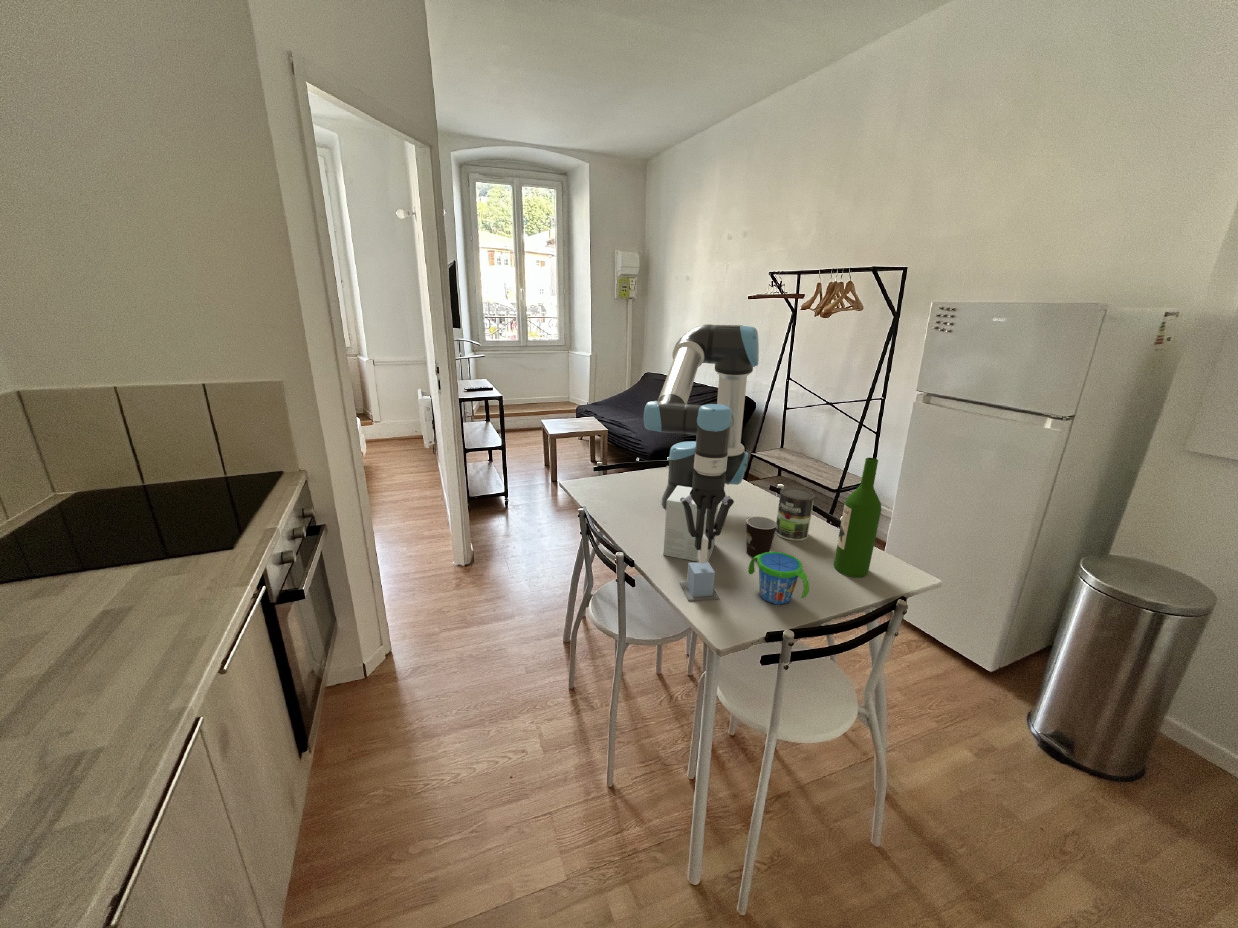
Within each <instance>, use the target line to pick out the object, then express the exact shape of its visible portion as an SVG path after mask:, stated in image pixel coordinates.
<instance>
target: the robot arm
mask: <svg viewBox="0 0 1238 928" xmlns="http://www.w3.org/2000/svg"><path fill="white" fill-rule="evenodd" d="M758 332H759V331H758V329H756V327H754V326H748V325H743V324H741V325H739V324H708V323H707V324H702V325H699V326H696V327H694V328H692V329H690V330H688V331H687V332H686V333H684V334H683V335H682V336H681V337H680V338H679V339H678V341H677V342H676V344H675V346H674V347H673V350H672V363H671V365H670V366H669V370H668V373H667V375H666V378H665V381H664V383H663V387H662V389H661V391H660V393H659V396H658V398H657V400H654V401H648V402H646V404H645V406H644V411H643V425H644V428H645V429H646V430H648V431H654V432H659V433H669V434H670V433H671V434H681V435H690V436H695V437H696V440H695V441H694V440H693V441H692V440H691V441H690V440H689V441H681V442H678V443H677V442H676V443H675V444H673V445H672V446H671V447H670V450H669V457H668V474H667V475H668V476H667V485H666V488H665V490H664V492H663V495H662V498H661V505H662V507H663V508H664V509H666V504H667V499H668V498H669V497H670V495H671V494H672V493H673V491H674V490H675V488H676V487H677V485H678V486H684V487H691V488H692V490H691V491H690V495H689V496H687V497H686V498H683V497H682V498H681V499H680V501H681V503H682V504H683V506H684V510H685V515H686V521H687V526H688V531H689V533H690V535H691V536H692V537H695V548H696V549H697V550H698V555H697V559H698V560H699V562H700V563H706V561H707V550H710V549H711V545H712V540H713V539H714V536H715V537H719V536H720V535H721V533H722V530H723V527H724V525H725V521H726V519H727V516H728V513H729V511H730V508H731V507H732V506H733V505H734V504H735V501H734V499H733V498H732V497H731V496H730V495H727V494H726V491H725V487H726V486H725V485H734V486H736V485H740V484H741V483H742V481H743V480H744V479H743V478H744V476H745V472H746V467H747V463H748V458H749V452H747V451H745V446H744V445H743V443H741V442H742V430H743V420H744V411H745V402H746V401H745V400H746V390H747V389H746V388H747V382H748V381H747V379H748V376H749V375H751V374H752V373H753V371H754V368H755V367H758V366H759V355H760V354H759V352H760V349H759V346H760V345H759V333H758ZM703 364H712V365H713V364H714V372H716V374H718V384H717V385H718V387H717V400H716V401H717V402H716V403H706V404H703V405H702V404H701V405H700V404H699V405H698V404H691V403H688V402H689V401H688V400H689V397H690V394H691V392H692V388H693V385H694V381H695V379H696V375H697V373H698V372H697V371H698V368H700V367H701V365H703ZM692 500H693V501H694V502H695V504H696V505H697V517H696V529H695V526H694V520H693V515H692V510H691V507H690V506H691V505H692ZM720 503H721V505H720ZM719 505H720V506H719ZM717 506H718V507H719V508H718V514H717V518H716V520H715V513H716V508H717ZM706 509H707V518H706V530H705V533H706V535H703V530H704V519H705V513H706ZM714 521H715V523H714Z"/></svg>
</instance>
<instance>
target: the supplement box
mask: <svg viewBox="0 0 1238 928" xmlns="http://www.w3.org/2000/svg"><path fill="white" fill-rule="evenodd" d="M691 490H692V488H691V487H684V486H678V485H677V487H676V488H675V490H674V491H673V493H672V494H671V495H670V497H669V498H668V499H667V504H666V508H665V510H666V511H665V525H664V526H665V527H664V540H663V552H662V553H663V555H664V556H667V557H673V558H678V559H684V560H688V561H691V562H692V561H693V562H699V560H698V559H697V555H698V550H697V549H696V548H695V537H692V536H691V535H690V533H689V531H688V526H687V521H686V515H685V510H684V506H683V504H682V503H681V501H680V499H681V498H682V497H683V498H686V497H687V496H689V495H690V491H691ZM690 507H691V510H692V515H693V520H694V526H695V529H696V517H697V505H696V504H695V502H694V501H693V500H692V505H691V506H690ZM718 512H719V505H718V506H717V508H716V513H715V520H716V518H717V515H718ZM706 518H707V509H706V513H705V519H704V530H703V535H706V533H705V530H706ZM714 523H715V521H714ZM715 543H716V536H714V539H713V540H712V545H711V549H710V550H707V561H706V562H709V560H710V558H711V555H712V553H713V549H714V547H715V545H716V544H715Z"/></svg>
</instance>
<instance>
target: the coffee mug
mask: <svg viewBox="0 0 1238 928" xmlns="http://www.w3.org/2000/svg"><path fill="white" fill-rule="evenodd" d="M745 522H746V523H745V526H746V529H745V530H746V541H745V542H746V543H745V544H746V554H747V555H748V556H749V557H751V558H754V557H755V556H757V555H759V554H763V553H766V552H771V549H772V545H773V540H774V536H775V534H776V533H775V531H776V527H777V523H776V521H775V520H774V519H771V518H768V517H765V516H756V515H755V516H749V517H747V518H746V520H745Z"/></svg>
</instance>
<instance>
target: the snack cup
mask: <svg viewBox="0 0 1238 928" xmlns="http://www.w3.org/2000/svg"><path fill="white" fill-rule="evenodd" d="M751 558H752V559H751V560H750V562H749V564H748V568H747V572H748V575H753V574H754V573H755V571H756V570H755V569H756V568H755V561H757V567H758V579H759V580H758V582H759V583H758V584H759V593H760V596H761V599H763V600H765V601H766V602H769V603H772V604H774V605H783V604H788V603H789V602H791V599H792V597H793V594H794V590H795V588H796V585H797V583H798V580H799V578H800V579H801V580H802V585H803V591H802V593H801V596H800V598H801V599H804V598H806V597H807V596H808V594H809V592H810V582H809V579H808V576H807V574H806V572H805V571H804V570H803V563H802V562H801V560H799V558H797V557H795V556H794V555H791V554H788V553H785V552H780V551H770V552H766V553H763V554H759V555H757V556H755V557H754V558H753V557H751Z"/></svg>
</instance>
